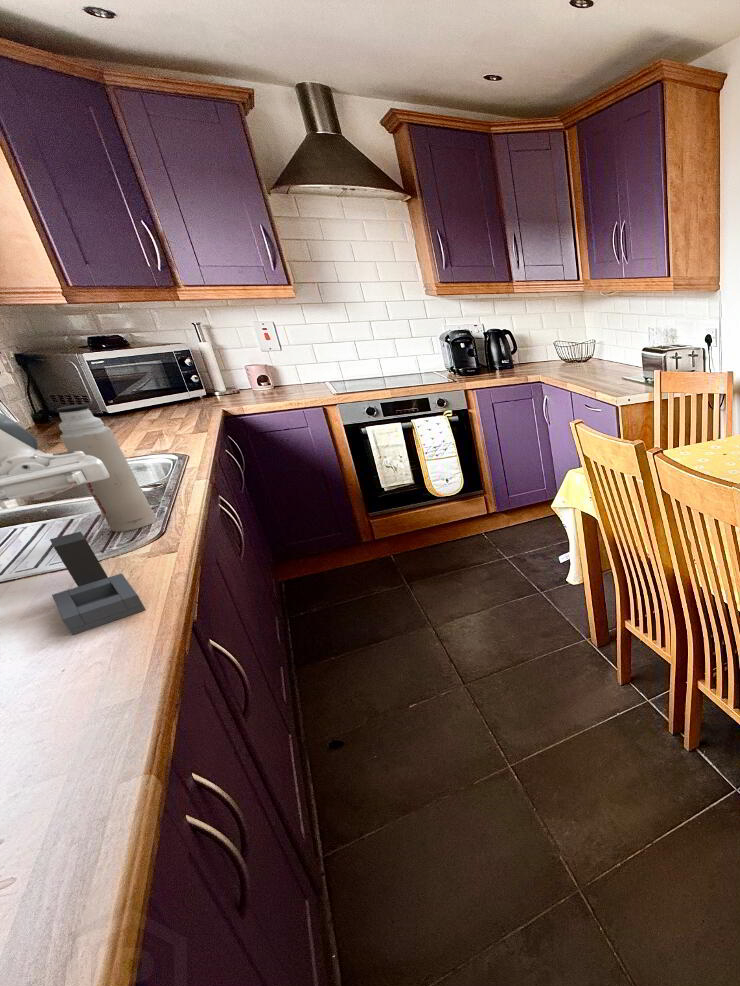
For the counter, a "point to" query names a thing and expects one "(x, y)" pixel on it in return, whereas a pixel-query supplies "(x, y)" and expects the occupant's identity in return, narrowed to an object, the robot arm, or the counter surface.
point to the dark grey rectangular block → (78, 558)
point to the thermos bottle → (121, 489)
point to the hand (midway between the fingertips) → (38, 489)
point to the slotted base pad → (97, 603)
